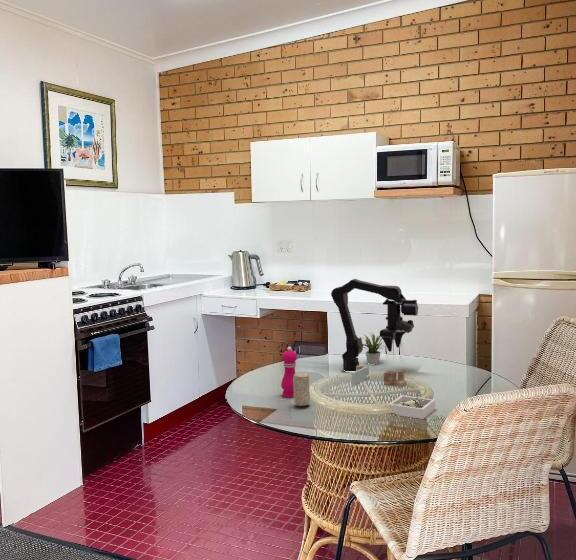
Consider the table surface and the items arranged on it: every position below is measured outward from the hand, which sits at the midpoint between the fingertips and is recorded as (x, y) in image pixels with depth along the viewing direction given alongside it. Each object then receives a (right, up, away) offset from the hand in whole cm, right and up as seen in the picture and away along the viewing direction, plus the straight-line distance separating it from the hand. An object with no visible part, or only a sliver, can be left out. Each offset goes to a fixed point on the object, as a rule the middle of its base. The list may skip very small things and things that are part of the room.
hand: (394, 349), depth 274 cm
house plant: (-5, -10, +23) cm, 25 cm away
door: (-16, -13, -9) cm, 23 cm away
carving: (-42, -17, -39) cm, 60 cm away
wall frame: (-7, -13, -7) cm, 16 cm away
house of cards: (+3, -17, -47) cm, 51 cm away
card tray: (-2, -17, -50) cm, 53 cm away
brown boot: (-2, -14, -16) cm, 21 cm away
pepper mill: (-46, -16, -26) cm, 55 cm away
